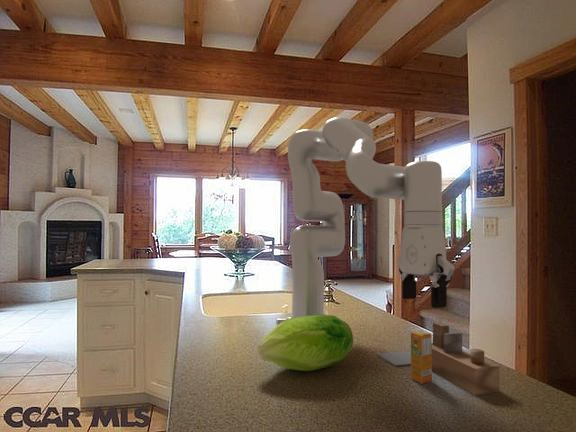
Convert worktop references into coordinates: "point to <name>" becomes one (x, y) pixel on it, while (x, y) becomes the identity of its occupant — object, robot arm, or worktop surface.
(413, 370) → the supplement box
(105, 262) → the worktop surface
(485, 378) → the brown wooden block shape
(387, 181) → the robot arm
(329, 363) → the lettuce
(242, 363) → the worktop surface
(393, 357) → the mat
